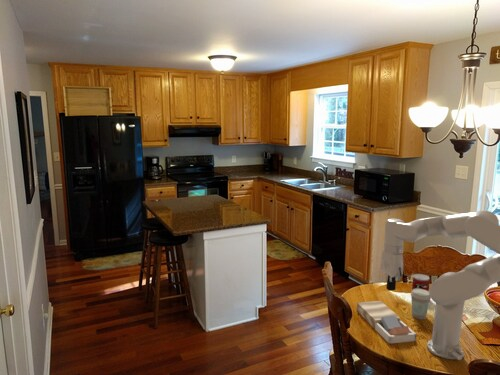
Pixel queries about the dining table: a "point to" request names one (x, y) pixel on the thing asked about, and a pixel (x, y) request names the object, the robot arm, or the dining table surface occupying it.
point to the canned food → (420, 282)
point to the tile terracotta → (399, 330)
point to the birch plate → (375, 312)
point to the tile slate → (390, 322)
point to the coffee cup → (420, 303)
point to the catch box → (396, 338)
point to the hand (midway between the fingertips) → (390, 289)
